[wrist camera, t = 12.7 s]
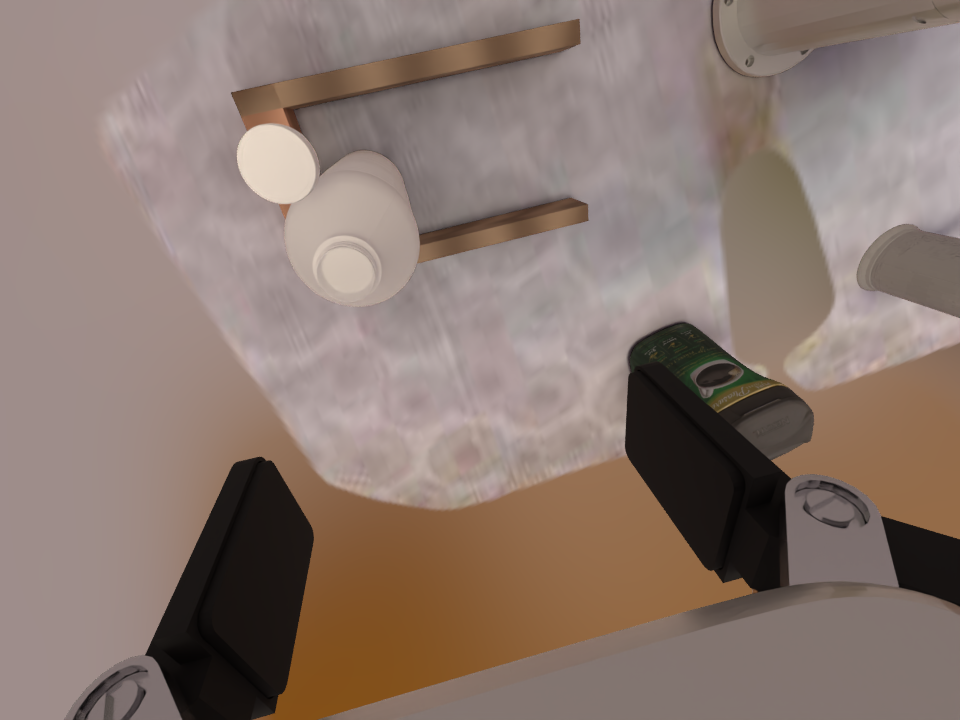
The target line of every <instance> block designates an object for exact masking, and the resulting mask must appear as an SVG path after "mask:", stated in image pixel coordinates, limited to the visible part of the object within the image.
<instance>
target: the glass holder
mask: <svg viewBox="0 0 960 720" xmlns="http://www.w3.org/2000/svg"><path fill="white" fill-rule="evenodd" d="M857 281H858V284H859V286H860V287H861V288H862V289H864V290H867V291H882V292H885V293H887V294H890V295H893V296H896V297H899V298H902V299H905V300H908V301H911V302H914V303H917V304H920V305H923V306H926V307H929V308H932V309H935V310H938V311H941V312H944V313H947V314H950V315H953V316H956V317H959V318H960V239H959V238H954V237H949V236H944V235H939V234H934V233H929V232H924V231H922V230H920V229H919V228H918V227H916V226H914V225H910V224H903V225H899V226H896V227H894V228H892V229H890V230H888V231H887V232H885V233H884V234H883V235H881V236H880V237H879V238H878V239H877V240H876V241H875V242H874V243H873V244H872V245H871V246H870V247H869V249H868V250H867V251H866V253H865V254H864V256H863V258H862V260H861V262H860V264H859V267H858V271H857Z"/></svg>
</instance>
